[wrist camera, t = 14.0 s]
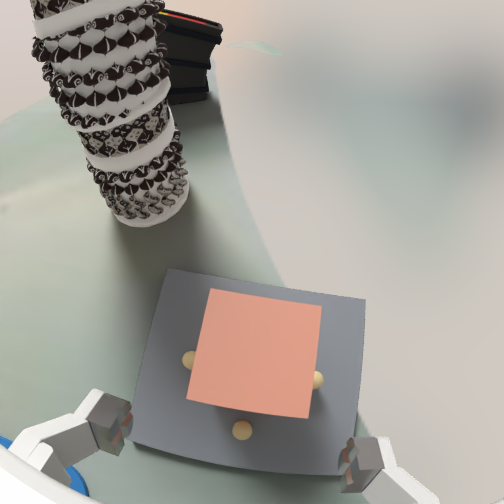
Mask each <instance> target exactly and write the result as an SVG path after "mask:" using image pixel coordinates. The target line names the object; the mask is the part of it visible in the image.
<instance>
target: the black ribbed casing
mask: <svg viewBox="0 0 504 504" xmlns="http://www.w3.org/2000/svg"><path fill="white" fill-rule="evenodd" d="M152 17H154V18H159V19H161V20H164V21H166V22H167V27H166V29H165V30H164V31H163V32H162V33H160V34H159V35H158V36H157V39H156V36H155V41H157V42H161V43H163V44H166V45H167V46H168V54H167V56H166V57H165V58H163V60H165V61H166V62H167V63H169V64H170V66H171V69H170V71H169V75H168V77H169V80H170V83H171V87H170V89H169V91H168V93H167V95H166V96H167V101H168V105H173V104H179V103H185V102H192V101H199V100H205V99H206V98H207V95H206V92H209V87H208V81H207V76H206V74H207V69H208V70H210V69H211V63H210V55H211V52H212V50H213V49H214V47H215V45H216V44H218V45H220V43H221V41H222V38H221V33H222V31H223V28H222V25H221V24H219V23H216V22H213V21H210V20H206V19H203V18H199V17H195V16H192V15H188V14H184V13H180V12H175V11H171V10H166V9H163V10H162V11H161V12H159V13H158V14H157V15H156V16H154V14H153V15H152Z"/></svg>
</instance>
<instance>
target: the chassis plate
mask: <svg viewBox="0 0 504 504" xmlns="http://www.w3.org/2000/svg"><path fill="white" fill-rule="evenodd" d="M210 288H213V289H218V290H224V291H230V292H235V293H241V294H247V295H253V296H259V297H265V298H271V299H278V300H284V301H291V302H297V303H304V304H311V305H318V306H322V309H321V320H320V330H319V340H318V349H317V358H316V366H315V374H314V381H313V389H312V396H311V402H310V409H309V415H308V418H297V417H287V416H279V415H271V414H263V413H256V412H250V411H244V410H238V409H232V408H227V407H222V406H217V405H212V404H207V403H202V402H198V401H193V400H189V399H186V397H187V392H188V387H189V382H190V378H191V373H192V368H193V364H194V359H195V354H196V350H197V345H198V341H199V336H200V332H201V327H202V323H203V319H204V314H205V310H206V306H207V301H208V297H209V293H210ZM364 327H365V299H358V298H351V297H344V296H336V295H330V294H323V293H316V292H310V291H302V290H296V289H289V288H284V287H277V286H271V285H265V284H259V283H253V282H247V281H241V280H235V279H229V278H223V277H218V276H212V275H206V274H201V273H195V272H189V271H184V270H179V269H173V268H168V269H167V272H166V275H165V278H164V282H163V285H162V289H161V292H160V295H159V299H158V302H157V306H156V309H155V313H154V317H153V320H152V324H151V328H150V332H149V335H148V339H147V343H146V347H145V351H144V355H143V359H142V363H141V367H140V372H139V376H138V380H137V385H136V389H135V394H134V399H133V403H132V408H131V414H132V415H133V427H132V431H131V433H130V435H129V436H128V437H126V439H128V440H131V441H134V442H137V443H140V444H143V445H146V446H149V447H152V448H155V449H158V450H162V451H165V452H169V453H172V454H176V455H180V456H184V457H188V458H192V459H196V460H201V461H205V462H210V463H215V464H220V465H225V466H231V467H237V468H243V469H250V470H258V471H266V472H275V473H287V474H301V475H342V474H341V473H340V472H339V471H338V458H339V454H340V453H341V451H342V449H344V448H346V447H347V445H346V442H347V441H348V439H349V438H351V437H353V435H354V429H355V422H356V415H357V407H358V399H359V390H360V381H361V371H362V358H363V344H364Z"/></svg>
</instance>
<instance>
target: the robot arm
mask: <svg viewBox="0 0 504 504" xmlns="http://www.w3.org/2000/svg"><path fill="white" fill-rule="evenodd" d="M130 409H131V403H130V402H129V401H126V400H124V399H121V398H118V397H116V396H113V395H110V394H108V393H105V392H103V391H100V390H97V389H93V390H91V391H90V393H89V394H88V395H87V397H86V398H85V399H84V401H83V402H82V403H81V405H80V406H79V407H78V409H77V410H76V411H75V413H74V414H71V413H69V414H66V415H64V416H61V417H58V418H55V419H53V420H50V421H47V422H44V423H41V424H38V425H35V426H32V427H29V428H26V429H24V430H23V431H22V432H21V433H20V435H19V436H18V437H17V438H16V440H15V441H14V442H13V443H12V445H11V446H10V447H9V448H8V449H6V448H5V447H4V446H2V445H1V444H0V504H103V503H101V502H98V501H96V500H94V499H92V498H90V497H87V496H85V495H83V494H81V493H79V492H77V491H75V490H73V489H71V488H69V486H70V485H71V483H72V480H71V478H70V476H69V475H68V473H67V471H66V470H65V469H66V468H68V467H70V466H72V465H74V464H75V463H77V462H79V461H81V460H83V459H84V458H86V457H88V456H90V455H91V454H93V453H95V452H97V451H98V450H99V449H100V450H102V451H105V452H108V453H110V454H113V455H116V456H119V454H120V452H121V451H122V449H123V447H124V445H125V444H124V440H123V439H124V438H126V437H128V436H129V435H130V433H131V431H132V427H133V415H132V414H131V413H130ZM346 445H347V447H346V448H344V449H342V451H341V453H340V454H339V458H338V471H339V472H340V473H341V474H342V477H341V478H340V479H339V481H340V489H341V493H358V492H362V493H361V494H362V495H363V496H364V497H365V499H366V500H367V501H368V502H369V503H370V504H440V503H439V500H438V497H437V496H435V495H434V494H432V492H430V491H429V490H428V489H426V488H425V487H424V486H423V485H422V484H420V483H419V482H418V481H417V480H416V479H414V478H413V477H412V476H411V475H410V474H408V473H407V472H406V471H405V470H404V469H403V468H401V467H398V466H397V463H396V460H395V456H394V453H393V450H392V447H391V444H390V441H389V438H388V437H387V436H385V437H384V436H383V437H351V438H349V439H348V441H347V442H346ZM492 504H504V498H503V499H501V500H498V501H496V502H494V503H492Z"/></svg>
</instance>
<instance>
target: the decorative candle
mask: <svg viewBox="0 0 504 504" xmlns="http://www.w3.org/2000/svg"><path fill="white" fill-rule="evenodd" d="M30 2H31V7H32V9H33V12H34V18H35V19H34V20H33V25H34V28H35V31H36V34H37V37H38V38H36V36H35V37H34V38H33V39H36V40H35V42H34V44H33V50H32V53H31V54H32V56H33V57H36V59H37V61H39V62H45V61H46V62H45V63H44V65H43V67H42V71H43V79H44V80H45V81H49V83H50V87H51V89H50V92H49V93H50V96H51V97H54V98H55V102H56V103H58V104H60V108H61V109H62V111H61V116H62V118H64V119H65V121H66V122H67V124H68V125H69V126H70V128H71V129H72V130H76V131H77V132H78V134H79V137H80V138H81V141H82V149H83V151H84V153H85V155H86V160H87V162H88V165H87V168H88V170H89V171H90V172H92V173H93V176H94V181H95V183H97V184H99V186H100V193H101V195H102V196H103V197H104V198H105V201H106V204H107V206H108V207H109V208H111V211H112V212H113V214H114V215H115V216H116V218H117V219H118V220H119V221H120V222H122V223H124V224H126V225H128V226H131V227H150V226H153V225H156V224H159V223H162V222H165V221H166V220H167V219H169V218H170V217H172V216H173V215H174V214H176V213H177V212H178V211H179V210H180V208H181V207H182V206H183V204H184V203H185V201H186V200H187V197H188V192H189V182H188V179H187V176H186V175H187V174H188V171H187V170H186V169H184V168H181V166H182V165H184V164H185V162H186V160H185V158H181V157H182V156H181V153H182V149H183V146H182V144H181V143H180V142H179V137H180V131H179V130H178V129H176V127H177V124H176V123H175V122H174V121H173V116H172V113H171V110H170V107H169V106H168V101H167V96H166V95H167V93H168V91H169V89H170V87H171V83H170V80H169V77H168V75H169V71H170V69H171V66H170V64H169V63H167V62H166V61H165V60H163V58H165V57H166V56H167V54H168V46H167V45H166V44H163V43H161V42H157V41H155V36H156V39H157V36H158V35H159V34H160V33H162V32H163V31H164V30H165V29H166V27H167V22H166V21H164V20H161V19H159V18H154V17H152V15H153V14H154V16H156V15H157V14H158V13H159V12H161V11H162V10H163V9H164V8H165V3H164V1H162V0H30ZM44 44H45V46H44ZM41 49H42V50H41ZM53 70H54V72H55V73H54V74H52V72H53ZM58 87H60V88H61V91H60V92H59V90H58ZM179 167H180V168H179Z"/></svg>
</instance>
